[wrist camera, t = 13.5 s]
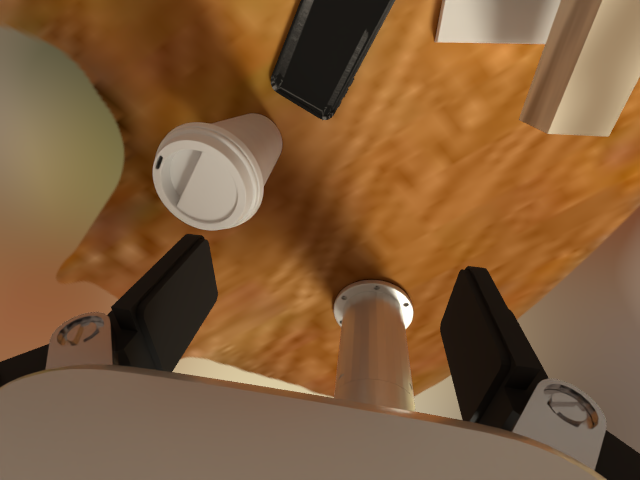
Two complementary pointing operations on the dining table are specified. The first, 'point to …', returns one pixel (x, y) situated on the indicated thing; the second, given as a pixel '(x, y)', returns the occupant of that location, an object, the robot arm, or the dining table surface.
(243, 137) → the coffee cup
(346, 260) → the dining table surface
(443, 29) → the ridge stand
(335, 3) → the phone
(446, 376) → the dining table surface
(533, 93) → the beam
